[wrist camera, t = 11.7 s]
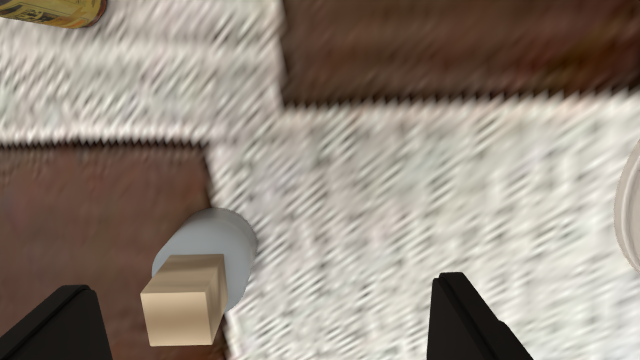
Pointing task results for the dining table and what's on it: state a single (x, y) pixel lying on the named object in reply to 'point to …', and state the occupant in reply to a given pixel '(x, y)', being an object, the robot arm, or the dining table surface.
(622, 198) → the plate stack
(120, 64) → the dining table surface
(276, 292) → the dining table surface
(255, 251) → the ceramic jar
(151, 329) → the maple block
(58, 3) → the sauce bottle
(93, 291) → the robot arm
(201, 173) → the dining table surface
